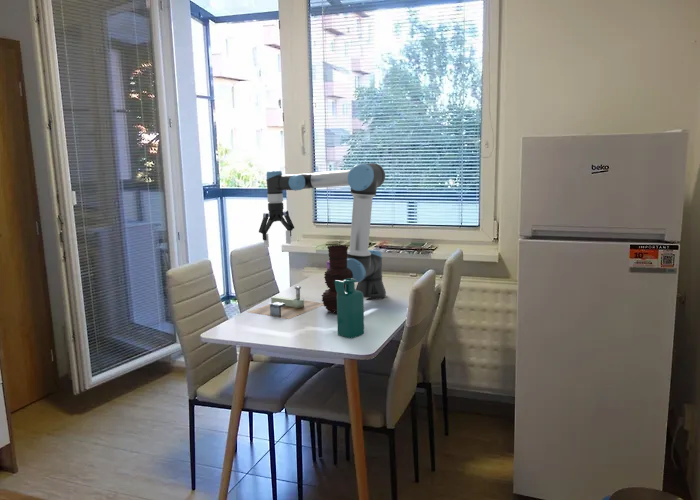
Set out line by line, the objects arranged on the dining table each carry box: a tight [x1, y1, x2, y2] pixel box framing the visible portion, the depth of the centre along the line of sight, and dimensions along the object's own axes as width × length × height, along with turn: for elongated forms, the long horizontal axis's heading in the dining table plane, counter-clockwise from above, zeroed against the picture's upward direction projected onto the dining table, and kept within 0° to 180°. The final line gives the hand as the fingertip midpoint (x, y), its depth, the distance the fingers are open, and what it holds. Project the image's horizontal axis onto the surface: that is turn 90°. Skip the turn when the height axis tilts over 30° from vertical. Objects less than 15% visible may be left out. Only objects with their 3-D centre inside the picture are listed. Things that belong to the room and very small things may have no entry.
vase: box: [321, 244, 353, 315], centre depth 241 cm, size 15×15×30 cm
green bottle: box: [335, 278, 365, 339], centre depth 213 cm, size 10×8×22 cm
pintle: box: [294, 285, 302, 300], centre depth 250 cm, size 3×3×6 cm
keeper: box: [270, 302, 285, 318], centre depth 238 cm, size 5×4×5 cm
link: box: [270, 295, 305, 308], centre depth 254 cm, size 17×5×3 cm, turn 58°
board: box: [248, 299, 324, 320], centre depth 250 cm, size 23×28×2 cm
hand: (277, 245), depth 278 cm, fingers open, 13 cm apart
